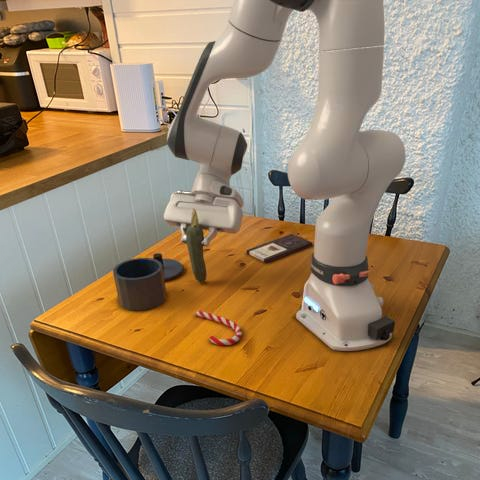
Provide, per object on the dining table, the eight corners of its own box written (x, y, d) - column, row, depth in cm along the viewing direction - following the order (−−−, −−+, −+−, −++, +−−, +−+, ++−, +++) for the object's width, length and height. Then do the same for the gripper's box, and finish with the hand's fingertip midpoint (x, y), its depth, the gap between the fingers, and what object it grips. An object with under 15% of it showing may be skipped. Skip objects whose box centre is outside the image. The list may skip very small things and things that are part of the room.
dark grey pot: (169, 306, 113) (165, 274, 109) (120, 314, 111) (114, 282, 106) (162, 284, 123) (158, 254, 118) (117, 291, 120) (111, 261, 116)
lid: (186, 278, 125) (184, 261, 122) (139, 286, 122) (135, 268, 119) (178, 259, 135) (176, 242, 132) (134, 266, 132) (131, 249, 130)
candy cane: (208, 305, 110) (250, 331, 101) (208, 309, 111) (250, 336, 101) (180, 317, 106) (222, 345, 96) (181, 322, 107) (222, 350, 97)
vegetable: (203, 288, 120) (197, 213, 109) (188, 286, 121) (180, 212, 110) (210, 281, 123) (204, 207, 113) (195, 279, 125) (188, 206, 114)
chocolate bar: (312, 242, 140) (266, 260, 130) (312, 245, 140) (266, 263, 131) (291, 233, 146) (246, 250, 136) (291, 236, 146) (246, 253, 137)
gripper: (168, 183, 119) (152, 234, 116) (242, 190, 111) (227, 244, 109) (178, 195, 124) (164, 243, 122) (249, 203, 117) (235, 254, 115)
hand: (194, 244), depth 116 cm, fingers closed on vegetable, 4 cm apart
